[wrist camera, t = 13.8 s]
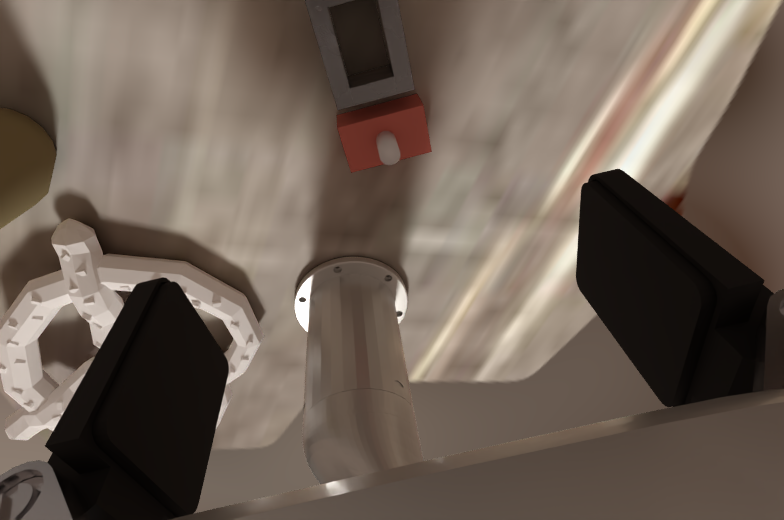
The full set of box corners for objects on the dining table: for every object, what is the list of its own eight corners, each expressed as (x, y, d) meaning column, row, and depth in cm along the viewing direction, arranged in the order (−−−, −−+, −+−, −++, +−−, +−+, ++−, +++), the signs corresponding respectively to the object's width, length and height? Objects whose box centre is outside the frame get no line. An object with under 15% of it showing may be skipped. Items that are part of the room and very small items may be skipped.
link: (407, 77, 36) (414, 89, 33) (337, 96, 36) (337, 110, 34) (385, -38, 31) (391, -35, 28) (304, -15, 32) (302, -10, 29)
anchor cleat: (425, 138, 39) (438, 167, 35) (349, 157, 40) (352, 189, 35) (417, 93, 37) (430, 118, 32) (336, 115, 37) (337, 142, 33)
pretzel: (37, 190, 40) (0, 221, 34) (287, 272, 50) (288, 307, 44) (-10, 401, 50) (-45, 451, 45) (205, 435, 60) (198, 479, 55)
